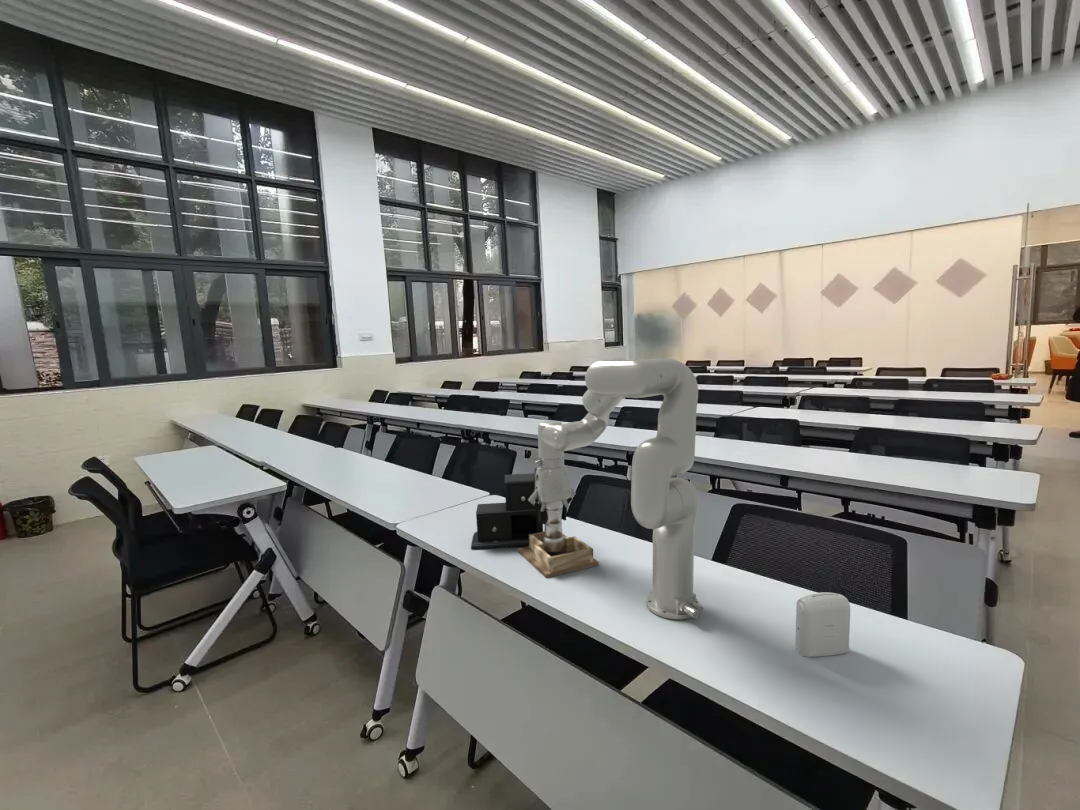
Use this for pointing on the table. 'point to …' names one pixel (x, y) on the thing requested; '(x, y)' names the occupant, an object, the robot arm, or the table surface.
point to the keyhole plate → (558, 556)
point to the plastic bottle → (553, 527)
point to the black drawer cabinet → (508, 516)
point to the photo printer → (822, 624)
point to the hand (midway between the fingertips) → (552, 520)
